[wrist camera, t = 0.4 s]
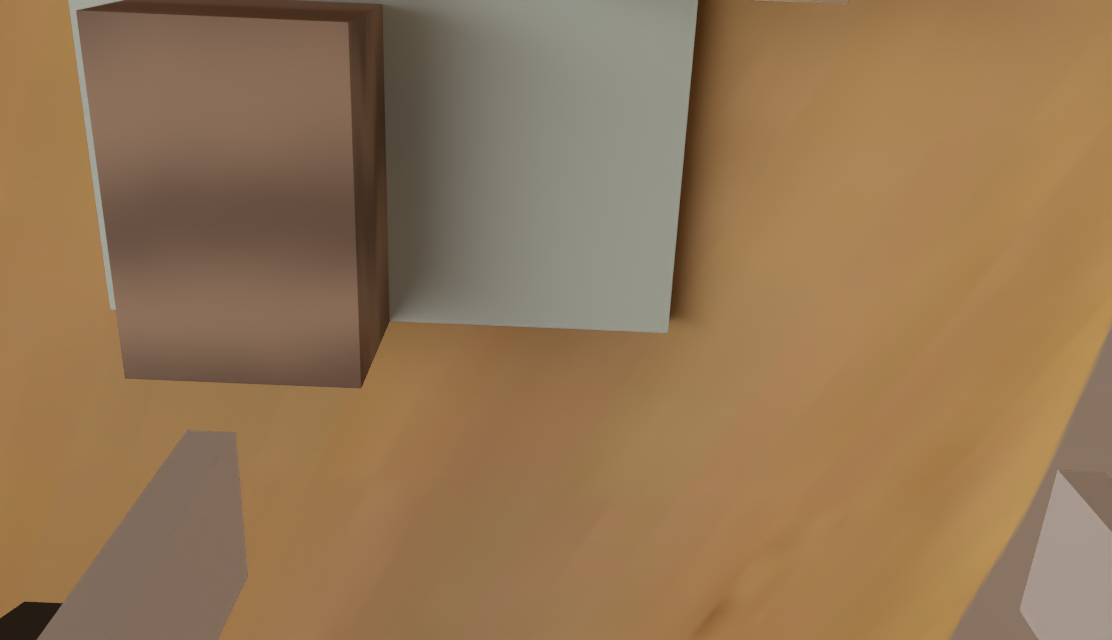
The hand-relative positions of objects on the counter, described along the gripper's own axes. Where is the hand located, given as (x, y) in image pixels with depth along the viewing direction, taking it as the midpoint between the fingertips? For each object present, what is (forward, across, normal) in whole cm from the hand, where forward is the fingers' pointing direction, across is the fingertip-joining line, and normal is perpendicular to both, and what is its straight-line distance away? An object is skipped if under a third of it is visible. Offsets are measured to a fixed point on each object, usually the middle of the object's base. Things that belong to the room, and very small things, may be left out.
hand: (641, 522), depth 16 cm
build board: (+24, -8, 0) cm, 25 cm away
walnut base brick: (+23, -12, 0) cm, 26 cm away
